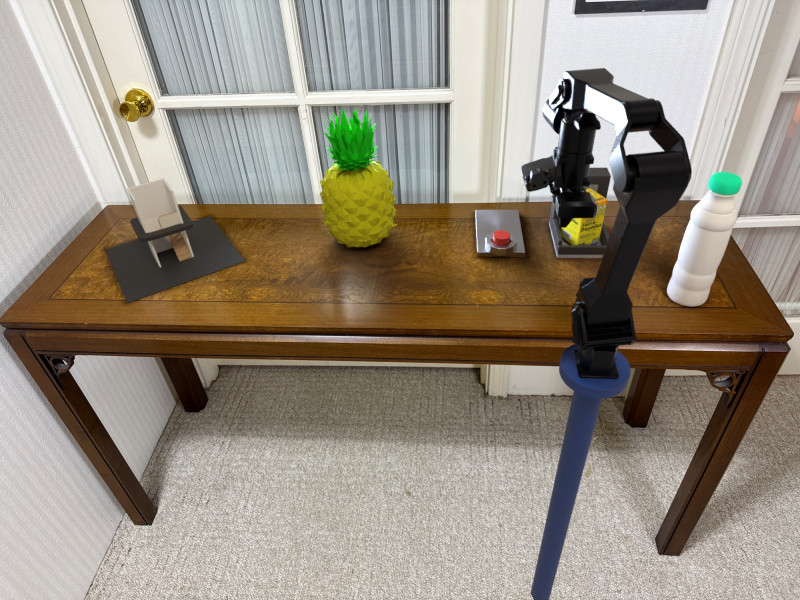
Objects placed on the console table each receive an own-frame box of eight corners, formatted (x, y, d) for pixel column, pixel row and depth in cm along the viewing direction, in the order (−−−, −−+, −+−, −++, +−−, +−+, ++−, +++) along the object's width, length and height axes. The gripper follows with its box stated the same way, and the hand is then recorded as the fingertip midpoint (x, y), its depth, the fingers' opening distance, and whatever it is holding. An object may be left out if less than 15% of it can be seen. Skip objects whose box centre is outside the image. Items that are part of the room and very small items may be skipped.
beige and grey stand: (127, 303, 114) (96, 234, 104) (104, 249, 131) (76, 185, 120) (244, 261, 124) (227, 194, 114) (210, 216, 140) (192, 154, 130)
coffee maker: (608, 258, 118) (621, 198, 110) (557, 258, 119) (566, 199, 111) (596, 224, 129) (607, 167, 120) (548, 223, 130) (556, 167, 121)
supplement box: (576, 252, 119) (584, 206, 113) (559, 238, 124) (566, 193, 117) (599, 244, 121) (608, 199, 114) (581, 231, 125) (589, 187, 119)
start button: (510, 246, 119) (510, 239, 118) (493, 246, 119) (493, 239, 118) (509, 237, 122) (509, 230, 121) (492, 237, 122) (492, 230, 121)
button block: (525, 260, 119) (526, 248, 117) (477, 260, 120) (478, 248, 118) (517, 214, 134) (518, 202, 132) (475, 214, 135) (475, 203, 133)
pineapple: (320, 260, 123) (298, 126, 104) (329, 220, 136) (311, 95, 117) (396, 258, 122) (388, 123, 103) (399, 218, 135) (391, 92, 116)
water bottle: (704, 288, 109) (748, 169, 94) (707, 311, 104) (754, 188, 88) (665, 282, 111) (702, 164, 96) (666, 304, 106) (704, 183, 90)
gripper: (521, 126, 103) (514, 202, 113) (532, 172, 88) (523, 255, 98) (584, 125, 102) (571, 201, 112) (605, 171, 87) (588, 255, 97)
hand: (562, 226), depth 105 cm, fingers closed
